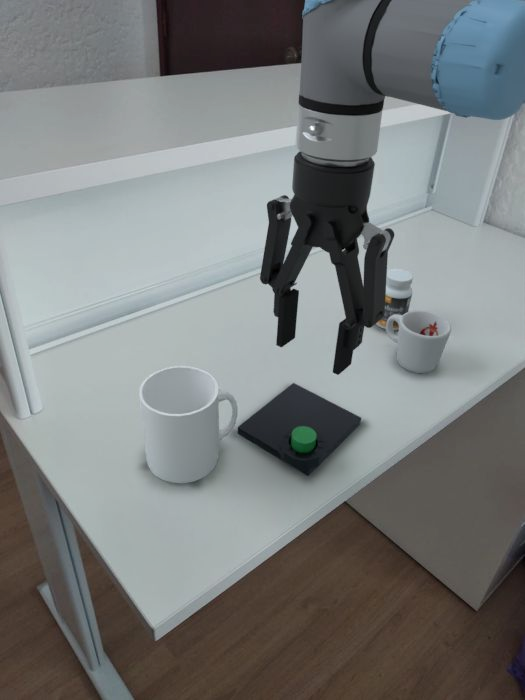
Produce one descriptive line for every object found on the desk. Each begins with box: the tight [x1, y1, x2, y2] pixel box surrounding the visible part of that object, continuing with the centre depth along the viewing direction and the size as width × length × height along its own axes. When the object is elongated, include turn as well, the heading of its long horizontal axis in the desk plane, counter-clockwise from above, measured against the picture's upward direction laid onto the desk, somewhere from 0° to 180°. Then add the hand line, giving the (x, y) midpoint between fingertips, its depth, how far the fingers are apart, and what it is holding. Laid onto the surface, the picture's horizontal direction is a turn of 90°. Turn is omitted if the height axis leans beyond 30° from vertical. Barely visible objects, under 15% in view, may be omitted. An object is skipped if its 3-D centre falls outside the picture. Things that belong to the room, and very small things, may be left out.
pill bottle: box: [375, 268, 414, 331], centre depth 102 cm, size 6×6×10 cm
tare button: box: [291, 426, 317, 453], centre depth 75 cm, size 3×3×2 cm
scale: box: [237, 382, 362, 477], centre depth 80 cm, size 12×14×3 cm
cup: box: [385, 309, 452, 374], centre depth 94 cm, size 11×8×8 cm
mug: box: [138, 365, 238, 484], centre depth 73 cm, size 10×12×12 cm
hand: (313, 354), depth 67 cm, fingers open, 7 cm apart
